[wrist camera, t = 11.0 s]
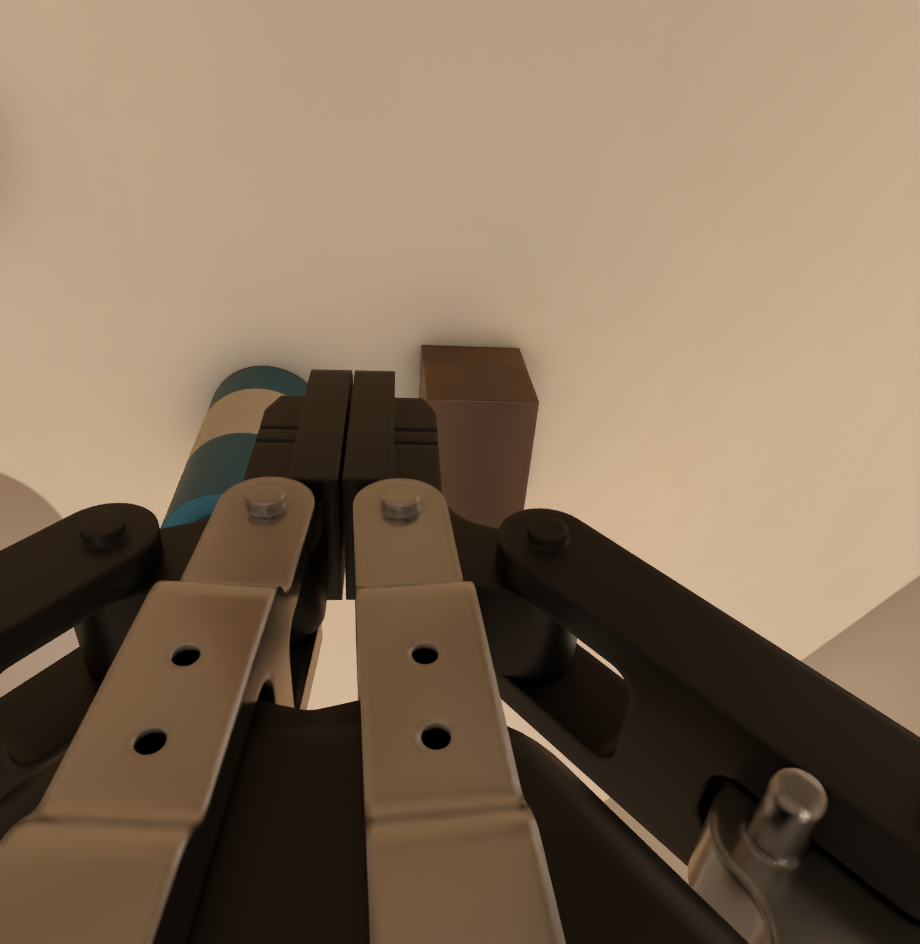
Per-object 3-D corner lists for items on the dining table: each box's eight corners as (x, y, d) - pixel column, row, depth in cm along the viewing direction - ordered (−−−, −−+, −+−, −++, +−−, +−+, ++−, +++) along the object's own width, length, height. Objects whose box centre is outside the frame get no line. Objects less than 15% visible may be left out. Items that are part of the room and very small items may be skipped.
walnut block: (414, 483, 51) (419, 548, 45) (421, 345, 46) (427, 399, 40) (503, 484, 52) (518, 548, 46) (519, 348, 46) (539, 401, 40)
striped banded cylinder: (265, 435, 52) (-18, 561, 38) (265, 342, 48) (-48, 445, 34) (466, 544, 45) (207, 748, 31) (483, 445, 41) (198, 626, 27)
